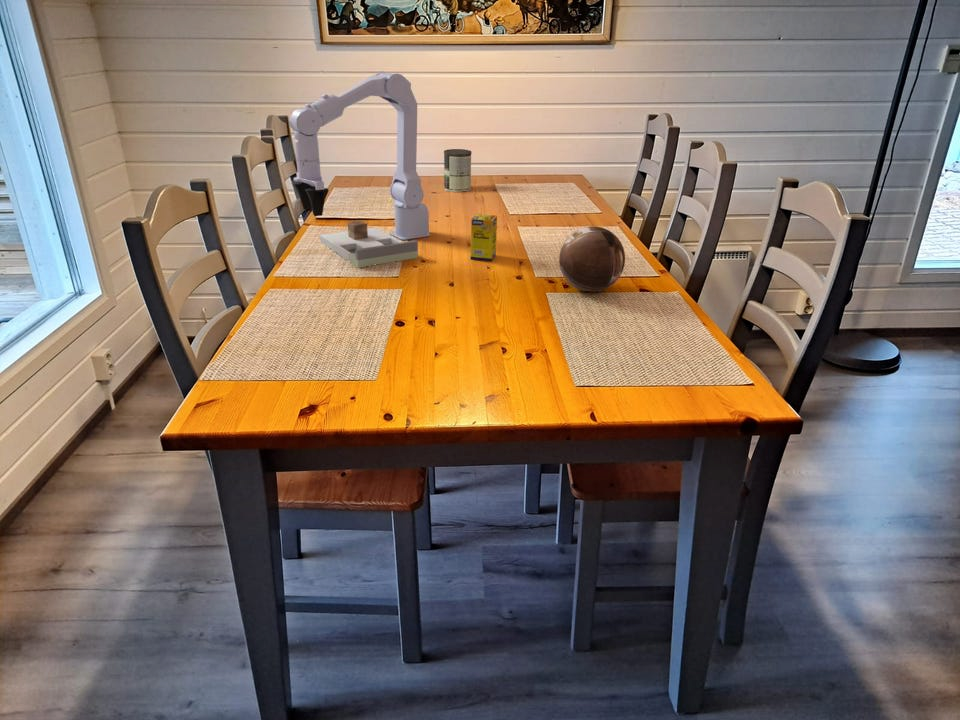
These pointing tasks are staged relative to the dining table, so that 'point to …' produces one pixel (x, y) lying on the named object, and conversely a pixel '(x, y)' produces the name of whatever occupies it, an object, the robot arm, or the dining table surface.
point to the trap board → (370, 248)
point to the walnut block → (357, 230)
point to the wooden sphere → (592, 259)
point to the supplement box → (483, 237)
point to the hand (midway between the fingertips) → (312, 212)
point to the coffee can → (457, 170)
